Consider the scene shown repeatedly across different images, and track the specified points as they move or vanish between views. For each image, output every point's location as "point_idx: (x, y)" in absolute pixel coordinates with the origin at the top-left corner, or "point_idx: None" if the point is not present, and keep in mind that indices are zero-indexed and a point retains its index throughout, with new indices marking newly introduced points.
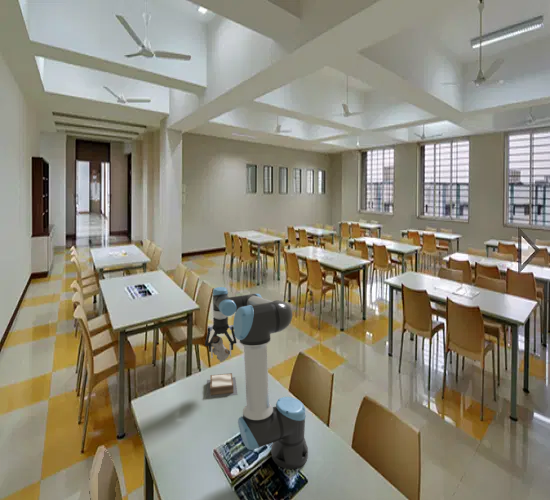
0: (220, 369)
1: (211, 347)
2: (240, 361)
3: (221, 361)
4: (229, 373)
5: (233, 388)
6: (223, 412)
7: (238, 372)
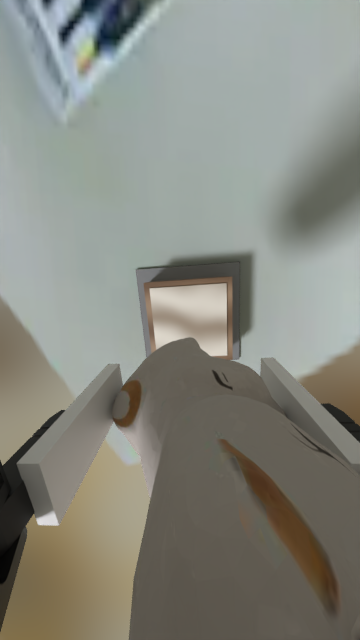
0: None
1: (357, 452)
2: None
3: (186, 338)
4: None
5: None
6: (180, 179)
7: None
